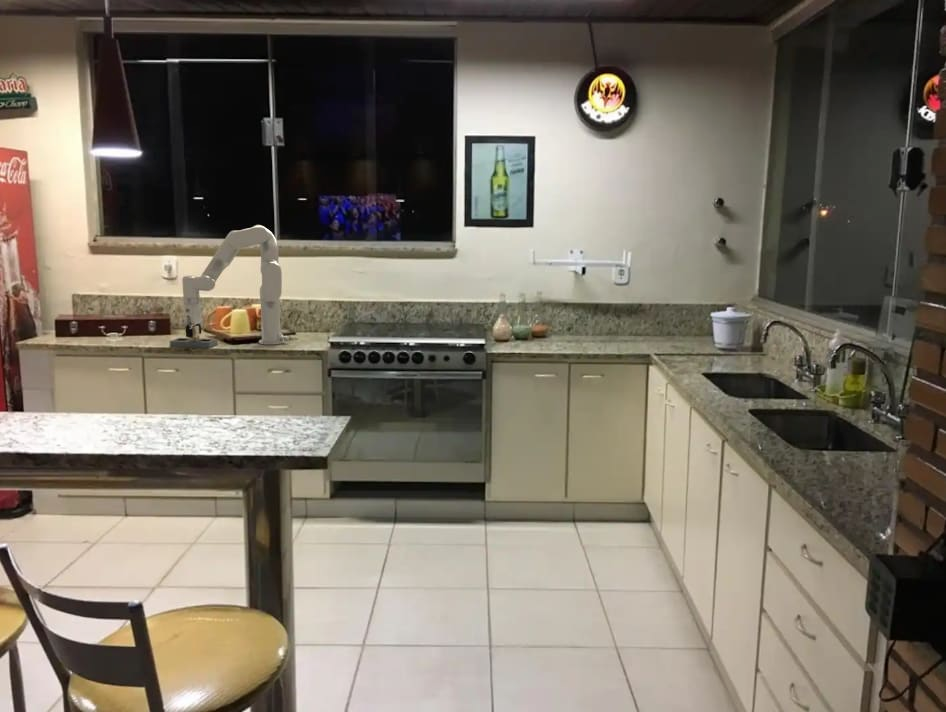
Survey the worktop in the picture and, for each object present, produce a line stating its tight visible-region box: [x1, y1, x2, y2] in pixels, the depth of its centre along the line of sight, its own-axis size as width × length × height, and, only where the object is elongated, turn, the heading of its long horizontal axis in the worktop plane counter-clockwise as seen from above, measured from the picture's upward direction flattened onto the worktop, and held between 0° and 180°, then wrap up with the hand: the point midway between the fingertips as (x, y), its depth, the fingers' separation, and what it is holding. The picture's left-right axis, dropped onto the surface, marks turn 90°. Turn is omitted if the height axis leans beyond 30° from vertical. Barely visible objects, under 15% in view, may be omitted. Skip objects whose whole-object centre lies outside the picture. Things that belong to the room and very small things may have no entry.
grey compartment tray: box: [169, 337, 219, 349], centre depth 383 cm, size 20×10×3 cm, turn 85°
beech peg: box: [187, 325, 201, 341], centre depth 383 cm, size 4×4×10 cm
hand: (193, 335), depth 382 cm, fingers open, 9 cm apart
